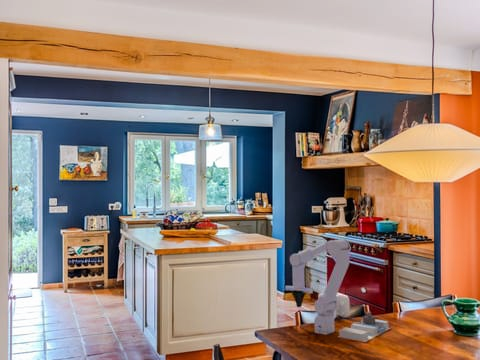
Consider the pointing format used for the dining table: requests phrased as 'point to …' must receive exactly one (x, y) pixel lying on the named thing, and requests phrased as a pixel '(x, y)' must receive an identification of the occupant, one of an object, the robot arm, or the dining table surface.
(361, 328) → the grey stepped board
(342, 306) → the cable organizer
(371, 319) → the cord plug
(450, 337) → the dining table surface
